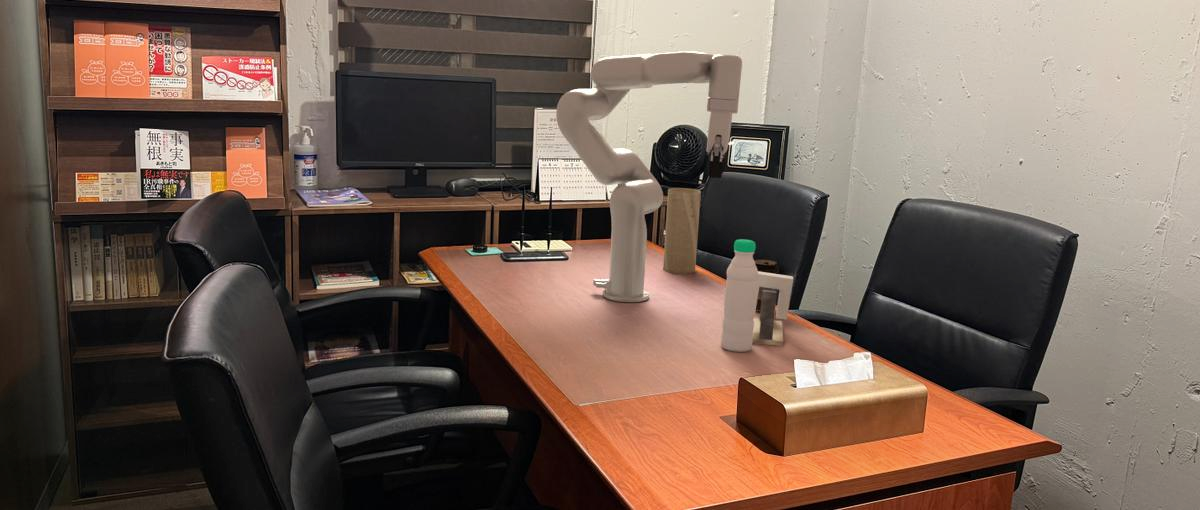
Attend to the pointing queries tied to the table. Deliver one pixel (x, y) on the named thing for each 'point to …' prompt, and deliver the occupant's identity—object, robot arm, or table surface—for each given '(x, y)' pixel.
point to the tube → (681, 230)
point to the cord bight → (779, 283)
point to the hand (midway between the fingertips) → (716, 175)
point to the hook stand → (767, 321)
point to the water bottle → (740, 298)
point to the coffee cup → (766, 267)
